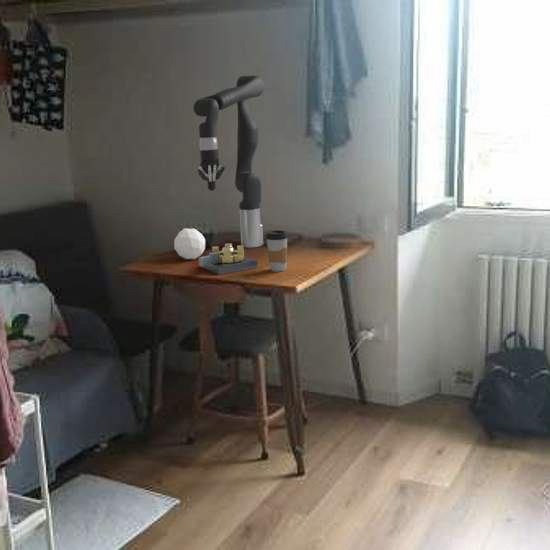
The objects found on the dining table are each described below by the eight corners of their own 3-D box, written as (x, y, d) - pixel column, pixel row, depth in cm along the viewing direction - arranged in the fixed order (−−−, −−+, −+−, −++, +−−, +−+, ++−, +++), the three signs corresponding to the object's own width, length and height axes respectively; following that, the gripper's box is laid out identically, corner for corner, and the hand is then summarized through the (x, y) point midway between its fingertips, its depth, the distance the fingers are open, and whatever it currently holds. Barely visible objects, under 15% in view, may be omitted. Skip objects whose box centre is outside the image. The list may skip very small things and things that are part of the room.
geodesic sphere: (162, 245, 312) (172, 222, 304) (187, 240, 322) (197, 217, 313) (180, 268, 306) (190, 245, 298) (205, 262, 316) (216, 240, 307)
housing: (237, 260, 303) (236, 241, 301) (257, 267, 289) (256, 248, 287) (200, 266, 295) (199, 247, 293) (219, 274, 280) (218, 254, 279)
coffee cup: (276, 266, 289) (275, 229, 286) (293, 268, 284) (291, 231, 281) (263, 270, 283) (261, 233, 280) (279, 273, 278) (278, 234, 274)
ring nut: (229, 254, 299) (228, 242, 298) (250, 258, 291) (249, 245, 290) (190, 264, 285) (189, 251, 284) (211, 268, 277) (210, 254, 276)
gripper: (219, 146, 306) (221, 188, 310) (190, 149, 299) (193, 191, 304) (227, 147, 300) (229, 189, 304) (198, 150, 293) (201, 192, 297)
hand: (211, 190), depth 304 cm, fingers closed
